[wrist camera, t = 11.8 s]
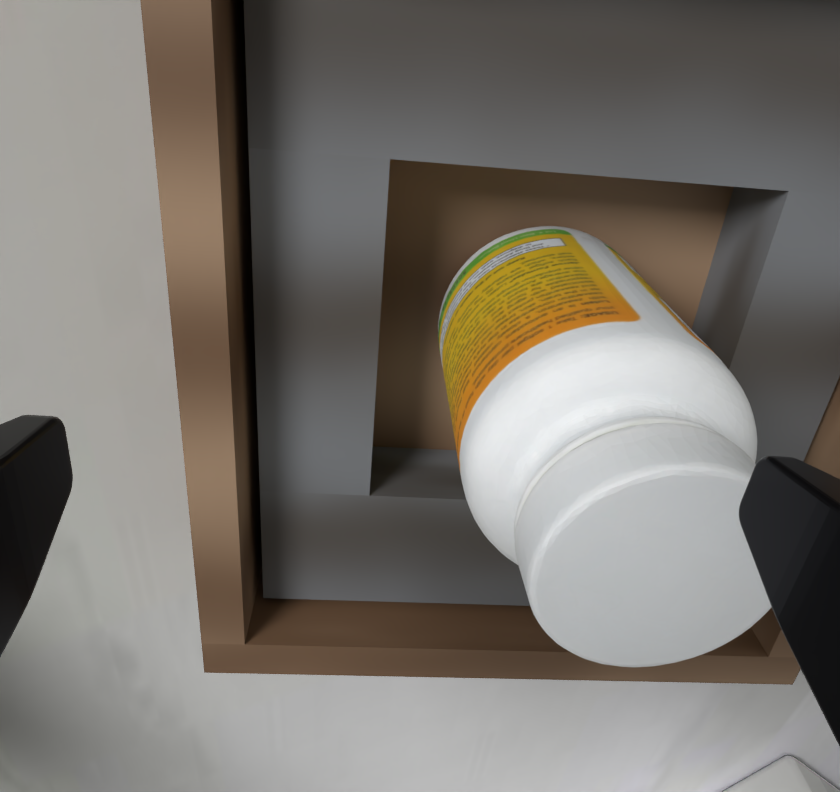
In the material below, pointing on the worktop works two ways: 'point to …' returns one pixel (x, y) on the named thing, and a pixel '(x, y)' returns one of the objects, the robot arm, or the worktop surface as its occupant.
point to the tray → (434, 271)
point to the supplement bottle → (600, 449)
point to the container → (784, 779)
